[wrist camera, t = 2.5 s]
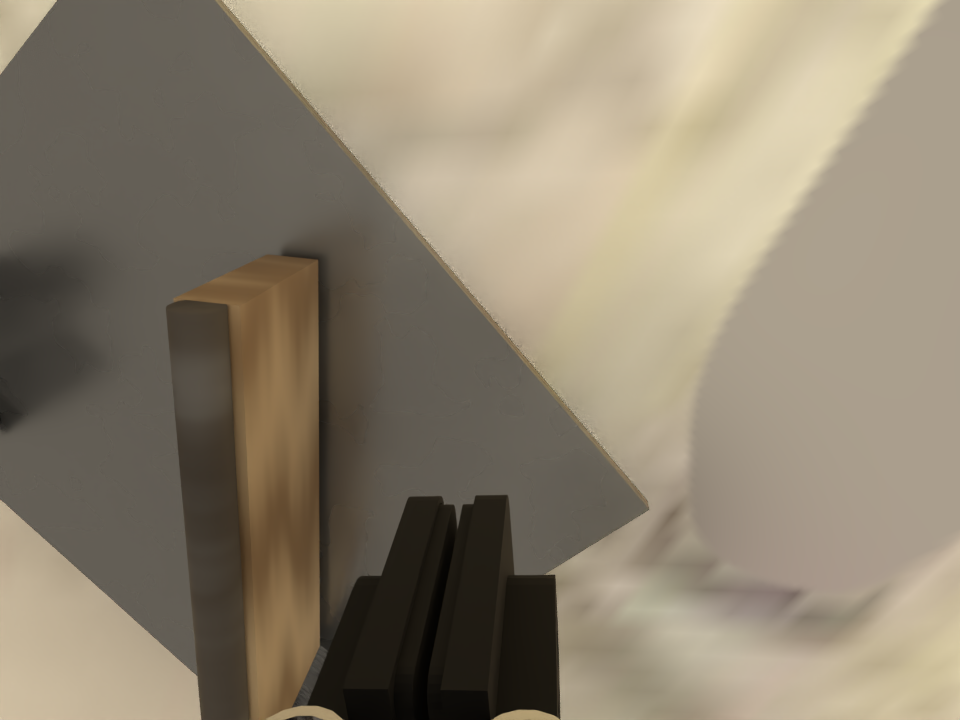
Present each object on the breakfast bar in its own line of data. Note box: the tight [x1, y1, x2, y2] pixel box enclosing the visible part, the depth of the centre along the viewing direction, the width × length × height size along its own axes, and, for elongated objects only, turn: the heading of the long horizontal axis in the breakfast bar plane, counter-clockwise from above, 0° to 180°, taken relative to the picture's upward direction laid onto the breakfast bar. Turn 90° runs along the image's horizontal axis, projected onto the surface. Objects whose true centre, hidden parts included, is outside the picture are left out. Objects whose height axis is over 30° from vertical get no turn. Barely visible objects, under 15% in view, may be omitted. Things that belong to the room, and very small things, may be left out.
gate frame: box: [0, 0, 649, 708], centre depth 19 cm, size 22×18×7 cm
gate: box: [166, 254, 320, 720], centre depth 19 cm, size 14×2×6 cm, turn 175°
